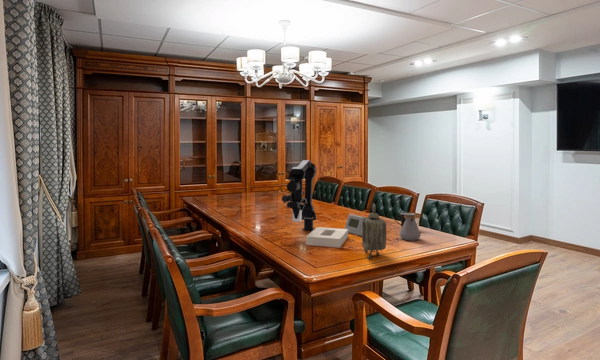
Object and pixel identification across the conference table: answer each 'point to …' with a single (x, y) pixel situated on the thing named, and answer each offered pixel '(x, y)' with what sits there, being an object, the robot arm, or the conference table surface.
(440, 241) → the conference table surface
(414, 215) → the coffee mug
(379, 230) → the shaggy robed figurine
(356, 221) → the digital clock
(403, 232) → the coffee pot
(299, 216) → the light grey rectangular block
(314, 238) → the slot board
